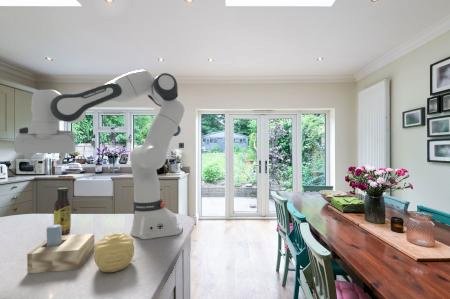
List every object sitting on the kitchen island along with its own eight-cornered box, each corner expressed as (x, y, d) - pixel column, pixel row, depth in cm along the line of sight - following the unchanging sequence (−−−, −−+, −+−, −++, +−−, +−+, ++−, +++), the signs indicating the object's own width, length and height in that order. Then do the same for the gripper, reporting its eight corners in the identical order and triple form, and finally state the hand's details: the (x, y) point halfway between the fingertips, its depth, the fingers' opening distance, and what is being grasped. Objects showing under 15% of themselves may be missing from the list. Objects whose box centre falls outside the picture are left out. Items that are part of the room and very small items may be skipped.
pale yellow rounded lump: (92, 281, 66) (91, 243, 66) (96, 262, 77) (96, 229, 77) (135, 272, 71) (134, 237, 71) (133, 255, 82) (133, 225, 82)
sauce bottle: (61, 236, 99) (61, 190, 99) (49, 235, 101) (49, 189, 100) (74, 230, 106) (74, 187, 106) (63, 229, 107) (62, 186, 107)
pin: (64, 252, 80) (63, 224, 80) (58, 258, 76) (58, 228, 76) (50, 253, 79) (50, 225, 79) (44, 259, 75) (43, 229, 75)
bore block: (94, 249, 87) (94, 233, 86) (78, 268, 73) (78, 249, 73) (52, 252, 84) (52, 236, 84) (27, 273, 70) (27, 253, 70)
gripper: (78, 131, 98) (78, 163, 98) (22, 130, 94) (22, 164, 94) (71, 130, 92) (71, 165, 92) (11, 129, 88) (11, 165, 88)
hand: (46, 164), depth 93 cm, fingers open, 8 cm apart
